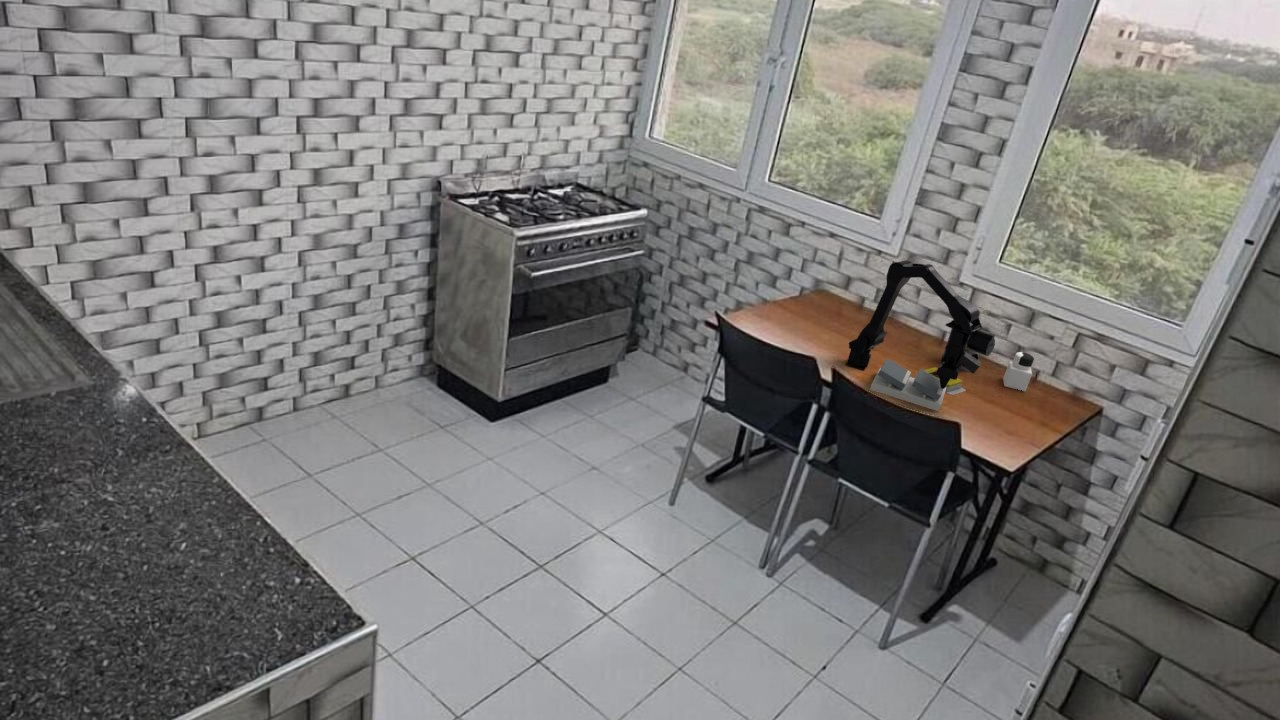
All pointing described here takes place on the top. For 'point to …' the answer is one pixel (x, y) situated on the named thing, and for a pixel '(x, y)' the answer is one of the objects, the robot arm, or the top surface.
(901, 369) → the block
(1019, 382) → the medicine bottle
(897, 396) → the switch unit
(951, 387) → the emergency button
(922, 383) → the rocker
